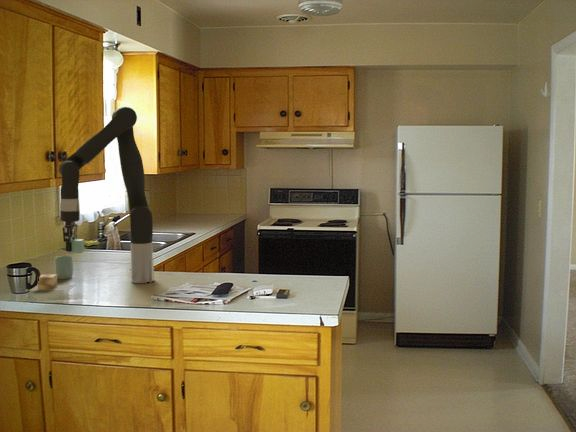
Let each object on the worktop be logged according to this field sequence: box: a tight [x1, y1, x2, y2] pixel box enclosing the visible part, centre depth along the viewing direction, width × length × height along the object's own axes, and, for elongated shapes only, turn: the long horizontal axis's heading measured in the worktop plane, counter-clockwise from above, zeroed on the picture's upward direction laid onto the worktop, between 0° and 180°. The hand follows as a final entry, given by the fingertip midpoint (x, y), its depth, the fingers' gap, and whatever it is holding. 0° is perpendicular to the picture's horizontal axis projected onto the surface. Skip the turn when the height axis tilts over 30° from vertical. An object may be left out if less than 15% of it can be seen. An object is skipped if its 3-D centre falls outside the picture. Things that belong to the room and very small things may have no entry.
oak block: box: [37, 273, 58, 290], centre depth 276 cm, size 6×6×5 cm
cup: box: [54, 255, 74, 280], centre depth 297 cm, size 8×8×10 cm
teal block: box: [68, 238, 85, 254], centre depth 279 cm, size 5×5×5 cm
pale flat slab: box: [29, 284, 76, 292], centre depth 276 cm, size 16×10×1 cm, turn 93°
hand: (70, 250), depth 279 cm, fingers closed on teal block, 5 cm apart
